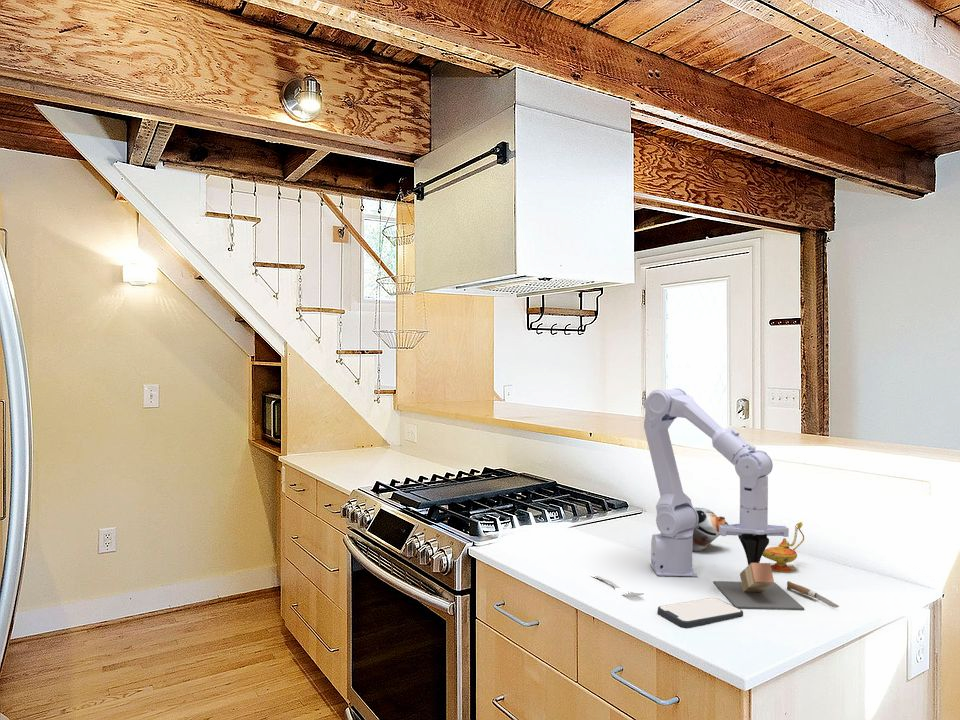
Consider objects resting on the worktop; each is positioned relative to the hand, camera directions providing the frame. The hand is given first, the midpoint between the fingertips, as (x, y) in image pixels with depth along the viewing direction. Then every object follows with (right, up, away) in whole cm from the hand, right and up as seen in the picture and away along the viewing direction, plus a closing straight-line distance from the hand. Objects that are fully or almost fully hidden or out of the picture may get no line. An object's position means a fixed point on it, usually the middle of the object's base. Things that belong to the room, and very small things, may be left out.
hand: (753, 568), depth 148 cm
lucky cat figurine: (-2, -5, +34) cm, 35 cm away
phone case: (-15, -6, -12) cm, 20 cm away
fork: (-31, -6, +6) cm, 33 cm away
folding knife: (+12, -6, -3) cm, 13 cm away
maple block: (0, -4, +1) cm, 4 cm away
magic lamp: (+12, -6, +16) cm, 21 cm away
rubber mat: (0, -6, -1) cm, 6 cm away
